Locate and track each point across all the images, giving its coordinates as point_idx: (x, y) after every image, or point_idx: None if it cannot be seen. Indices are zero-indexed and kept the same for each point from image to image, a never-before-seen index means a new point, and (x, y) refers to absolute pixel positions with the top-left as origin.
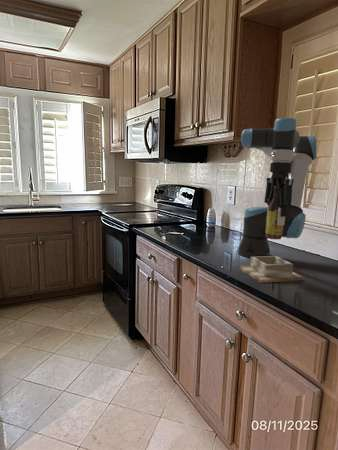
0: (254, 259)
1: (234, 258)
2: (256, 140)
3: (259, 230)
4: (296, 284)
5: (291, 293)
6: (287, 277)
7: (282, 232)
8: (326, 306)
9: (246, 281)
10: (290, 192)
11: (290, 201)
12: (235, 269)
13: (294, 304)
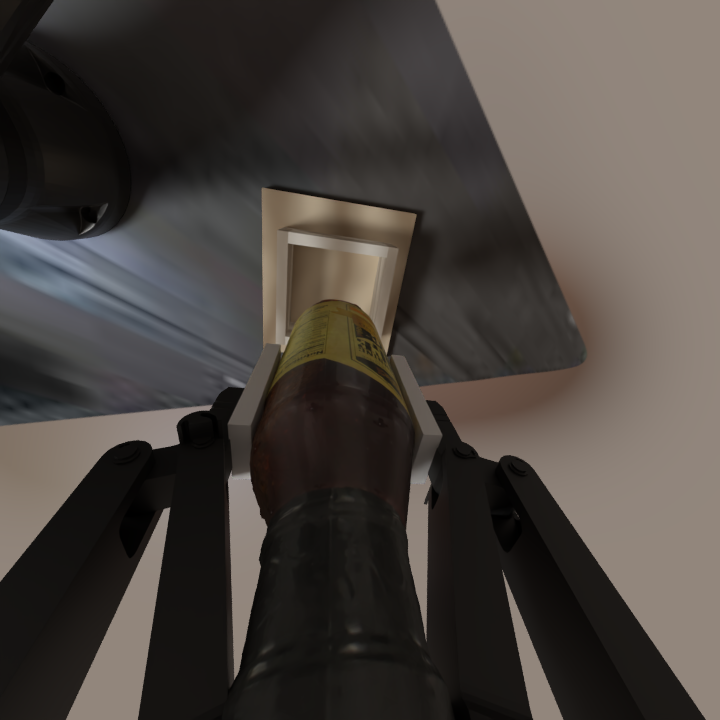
0: None
1: (132, 293)
2: None
3: None
4: (432, 269)
5: (467, 331)
6: (399, 275)
7: (369, 319)
8: (553, 310)
9: None
10: (636, 655)
11: (551, 511)
12: None
13: (506, 366)
